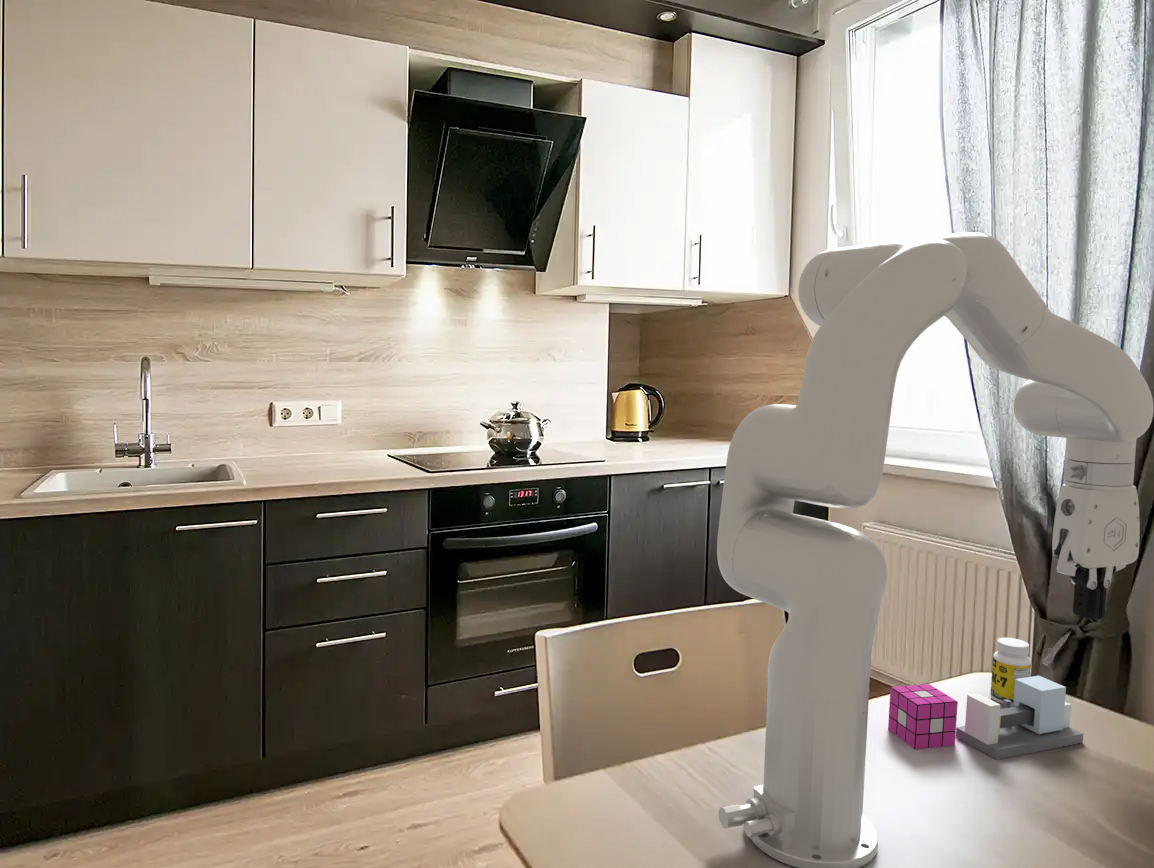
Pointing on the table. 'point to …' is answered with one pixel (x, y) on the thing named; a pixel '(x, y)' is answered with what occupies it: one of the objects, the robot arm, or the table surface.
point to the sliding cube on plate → (1010, 729)
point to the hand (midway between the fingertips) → (1088, 616)
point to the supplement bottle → (1009, 667)
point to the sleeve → (1041, 702)
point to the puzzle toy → (922, 716)
